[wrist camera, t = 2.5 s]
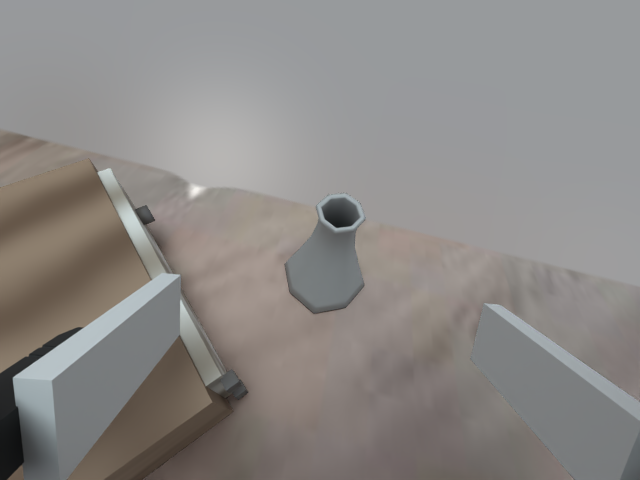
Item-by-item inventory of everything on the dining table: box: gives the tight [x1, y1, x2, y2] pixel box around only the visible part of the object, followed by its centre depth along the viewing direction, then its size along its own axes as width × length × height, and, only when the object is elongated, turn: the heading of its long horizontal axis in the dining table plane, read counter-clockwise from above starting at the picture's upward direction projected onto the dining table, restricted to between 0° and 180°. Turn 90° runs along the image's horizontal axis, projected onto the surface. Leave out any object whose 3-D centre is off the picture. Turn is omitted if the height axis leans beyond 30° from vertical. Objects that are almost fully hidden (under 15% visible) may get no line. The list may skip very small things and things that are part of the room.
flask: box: [285, 193, 366, 313], centre depth 25 cm, size 7×7×10 cm
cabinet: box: [0, 158, 248, 480], centre depth 20 cm, size 20×16×8 cm
